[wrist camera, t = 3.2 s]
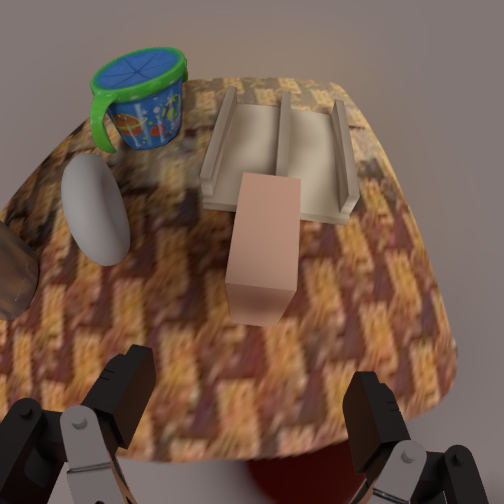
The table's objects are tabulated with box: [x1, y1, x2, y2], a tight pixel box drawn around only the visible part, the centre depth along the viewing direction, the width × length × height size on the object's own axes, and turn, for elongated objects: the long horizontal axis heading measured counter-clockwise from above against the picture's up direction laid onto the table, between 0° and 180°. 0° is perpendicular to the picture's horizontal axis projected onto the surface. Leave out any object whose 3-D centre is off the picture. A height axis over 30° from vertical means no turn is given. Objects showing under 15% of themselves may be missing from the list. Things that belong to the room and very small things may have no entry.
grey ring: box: [61, 153, 130, 266], centre depth 21 cm, size 10×3×10 cm, turn 21°
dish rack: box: [200, 86, 360, 226], centre depth 29 cm, size 14×16×4 cm
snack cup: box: [90, 47, 188, 153], centre depth 28 cm, size 16×10×10 cm
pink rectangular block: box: [225, 172, 301, 328], centre depth 20 cm, size 4×7×10 cm, turn 174°
